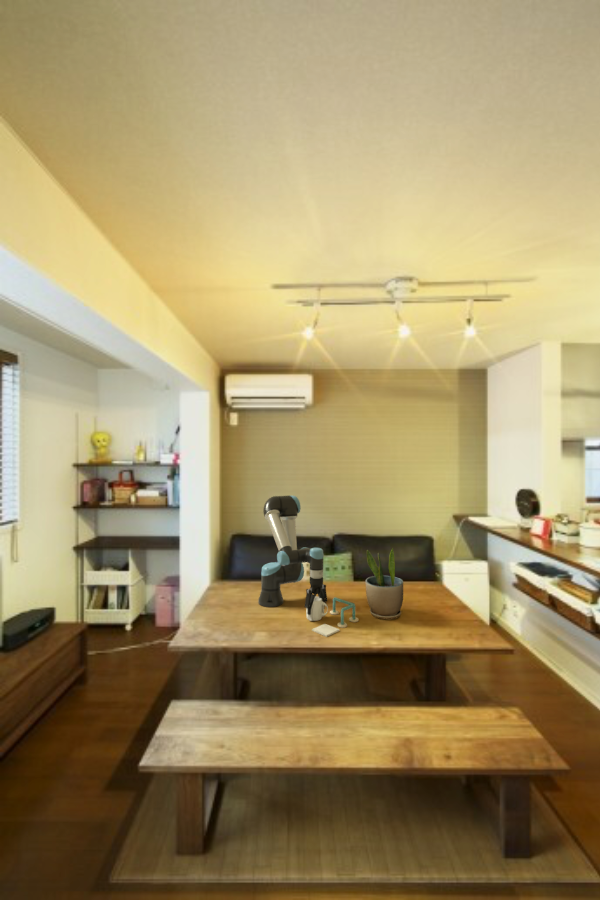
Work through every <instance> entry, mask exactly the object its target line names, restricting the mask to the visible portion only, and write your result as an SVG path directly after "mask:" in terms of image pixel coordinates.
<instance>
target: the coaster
mask: <svg viewBox="0 0 600 900" xmlns="http://www.w3.org/2000/svg"><path fill="white" fill-rule="evenodd" d="M311 632H314V633H316V634H319V635H322V636H323V637H325V638H328V637H329V636H332V635H334V634H336V633H338V632H340V628H338V627H335V626H332V625H329V624H326V623H323V624H320V625H318V626H316V627H314V628H312V629H311Z"/></svg>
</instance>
